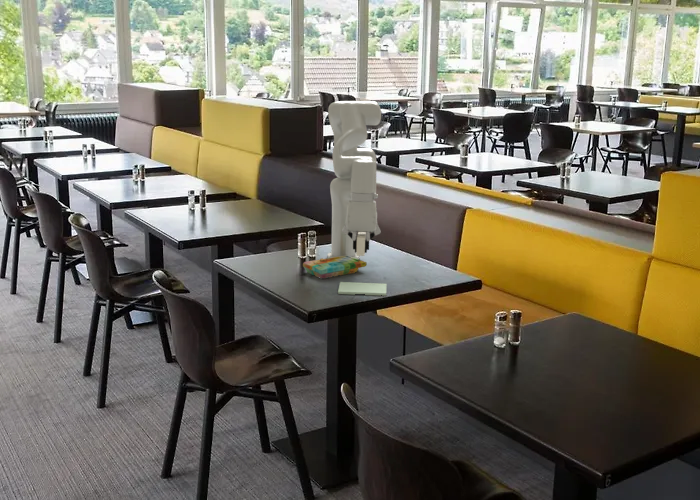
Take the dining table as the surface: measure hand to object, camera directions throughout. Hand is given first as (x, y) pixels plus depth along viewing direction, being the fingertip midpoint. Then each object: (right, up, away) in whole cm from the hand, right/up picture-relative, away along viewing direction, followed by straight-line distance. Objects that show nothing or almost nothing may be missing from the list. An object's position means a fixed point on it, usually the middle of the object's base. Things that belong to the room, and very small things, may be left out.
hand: (360, 251), depth 263 cm
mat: (+1, -13, +4) cm, 14 cm away
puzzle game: (-9, -8, +24) cm, 27 cm away
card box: (0, 0, 0) cm, 0 cm away
